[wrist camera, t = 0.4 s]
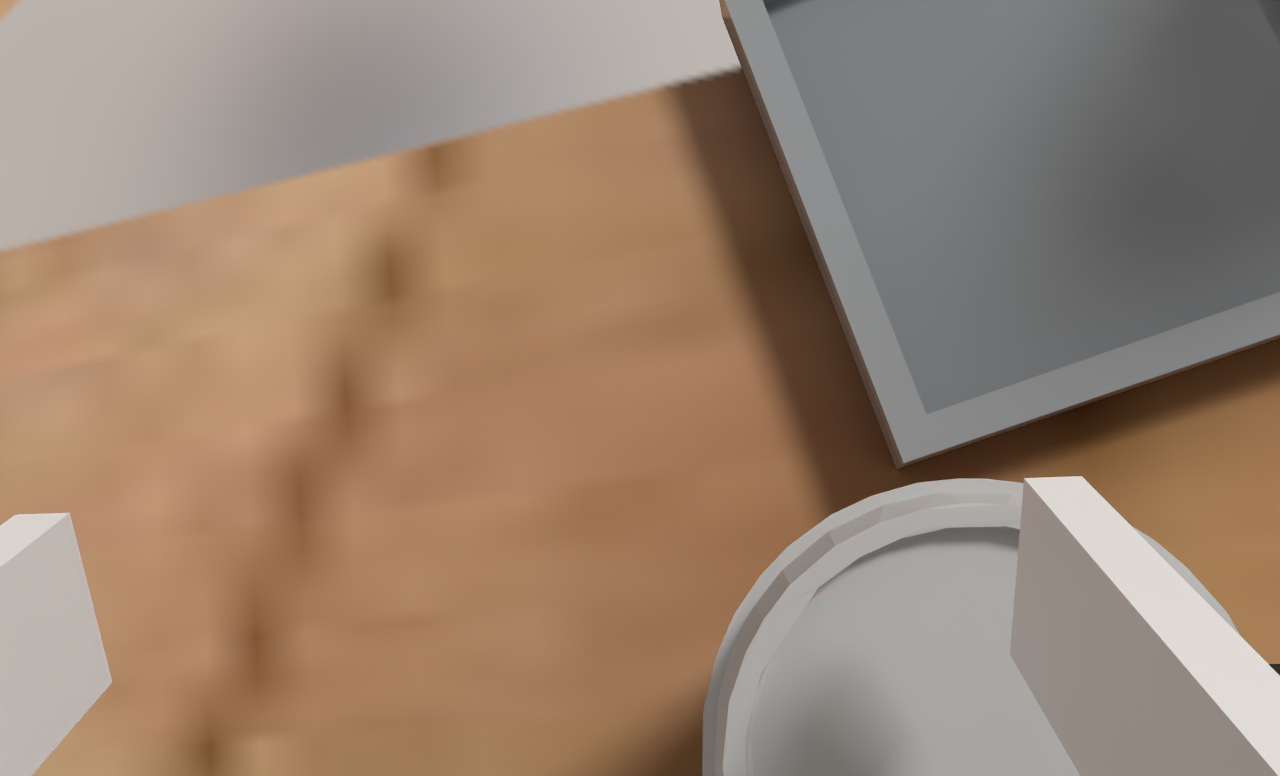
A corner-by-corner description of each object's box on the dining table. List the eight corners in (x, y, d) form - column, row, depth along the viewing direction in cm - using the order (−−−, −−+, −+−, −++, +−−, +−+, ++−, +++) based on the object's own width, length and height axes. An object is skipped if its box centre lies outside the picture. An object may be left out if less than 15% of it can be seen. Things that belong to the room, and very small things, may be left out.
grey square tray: (1437, 284, 27) (1494, 260, 25) (896, 469, 28) (903, 463, 26) (1199, -176, 30) (1230, -234, 28) (722, 16, 31) (715, -25, 29)
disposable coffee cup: (708, 802, 28) (634, 989, 16) (783, 468, 29) (764, 417, 17) (1064, 909, 26) (1269, 1206, 14) (1131, 547, 27) (1372, 552, 15)
